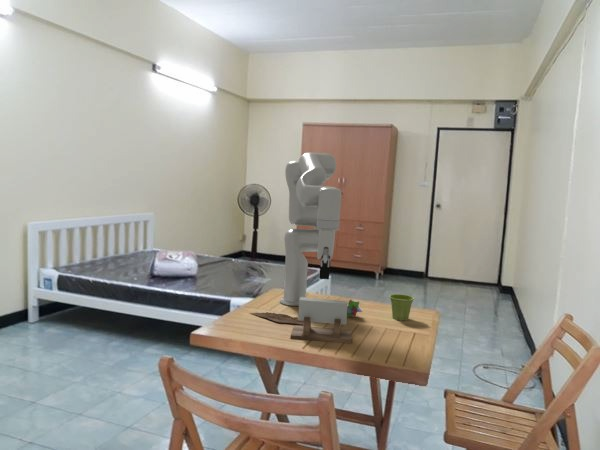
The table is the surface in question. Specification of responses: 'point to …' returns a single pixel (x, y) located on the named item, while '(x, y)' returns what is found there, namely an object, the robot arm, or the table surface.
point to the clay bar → (322, 310)
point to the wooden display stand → (321, 332)
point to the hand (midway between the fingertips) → (324, 275)
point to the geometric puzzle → (353, 308)
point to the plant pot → (401, 306)
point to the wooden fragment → (280, 318)
